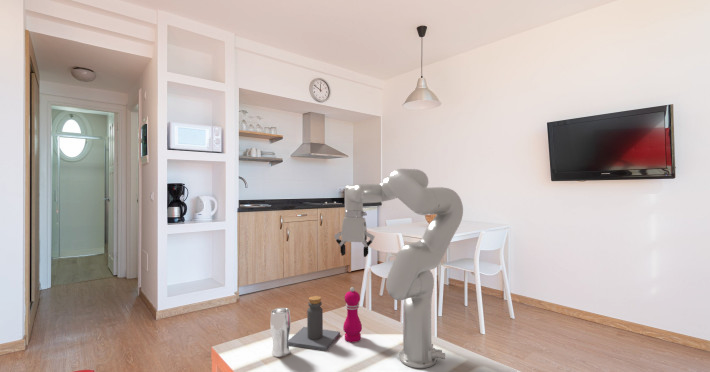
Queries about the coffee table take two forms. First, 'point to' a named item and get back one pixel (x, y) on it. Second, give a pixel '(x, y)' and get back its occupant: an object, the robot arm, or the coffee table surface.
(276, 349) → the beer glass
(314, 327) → the bottle
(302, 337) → the mat
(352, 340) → the pepper mill
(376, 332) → the coffee table surface
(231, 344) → the coffee table surface
